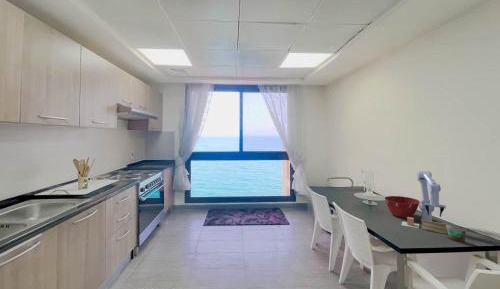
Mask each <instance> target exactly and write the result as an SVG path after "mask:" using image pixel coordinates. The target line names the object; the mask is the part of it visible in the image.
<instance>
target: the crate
mask: <svg viewBox="0 0 500 289" xmlns="http://www.w3.org/2000/svg"><path fill="white" fill-rule="evenodd" d="M446 225H447V223H443V222H439V221H438V222H437V221H436V222H435V221H432V222H431V221H425V220H422V222H421V230H423V231H430V232H435V233H439V234H447V235H448V230H447V227H446ZM449 225H451V224H450V223H449Z"/></svg>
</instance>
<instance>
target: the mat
mask: <svg viewBox="0 0 500 289" xmlns="http://www.w3.org/2000/svg"><path fill="white" fill-rule="evenodd" d="M400 226H402V227H409V228H413V229H420V224H419V223H415V222H414V226H411V225H407V221H402V222H401V225H400Z"/></svg>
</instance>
